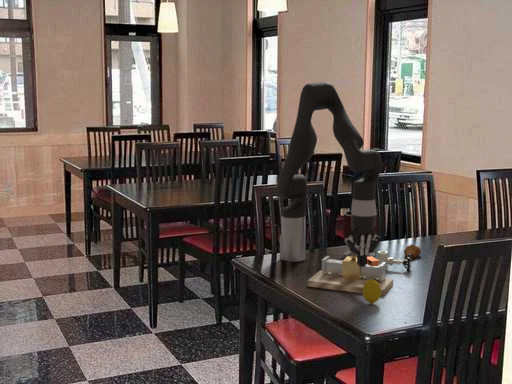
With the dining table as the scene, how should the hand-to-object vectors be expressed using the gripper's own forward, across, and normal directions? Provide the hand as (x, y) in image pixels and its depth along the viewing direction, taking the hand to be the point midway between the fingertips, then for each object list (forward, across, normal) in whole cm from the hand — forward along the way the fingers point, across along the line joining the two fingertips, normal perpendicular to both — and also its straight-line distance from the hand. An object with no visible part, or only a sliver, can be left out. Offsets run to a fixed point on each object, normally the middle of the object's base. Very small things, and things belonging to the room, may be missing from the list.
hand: (361, 266), depth 201 cm
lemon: (+10, -1, -9) cm, 13 cm away
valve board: (+10, +2, +10) cm, 14 cm away
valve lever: (0, +4, +5) cm, 7 cm away
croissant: (+9, +43, +33) cm, 55 cm away
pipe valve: (+8, +4, +12) cm, 15 cm away
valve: (+10, +25, +20) cm, 34 cm away
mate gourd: (+9, +25, +42) cm, 49 cm away
